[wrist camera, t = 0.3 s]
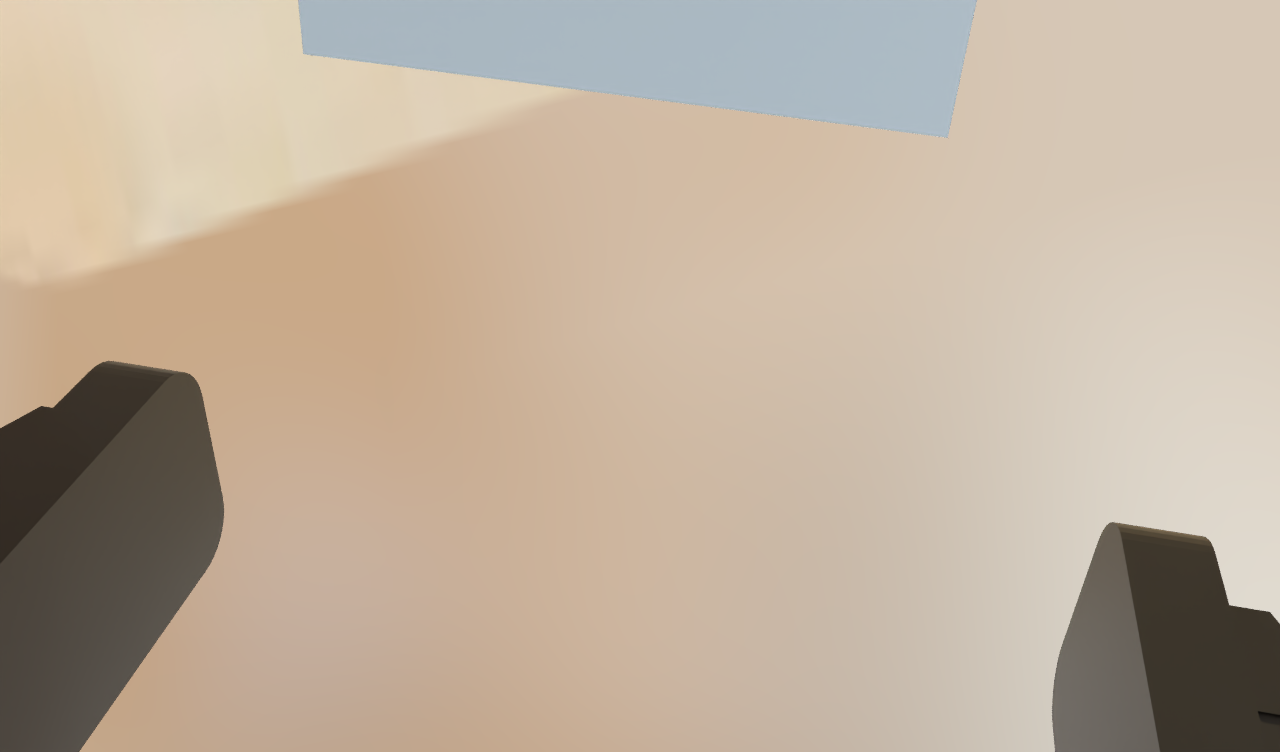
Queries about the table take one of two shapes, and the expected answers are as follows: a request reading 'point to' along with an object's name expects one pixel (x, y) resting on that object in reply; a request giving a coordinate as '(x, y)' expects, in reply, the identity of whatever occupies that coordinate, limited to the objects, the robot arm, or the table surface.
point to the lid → (680, 50)
